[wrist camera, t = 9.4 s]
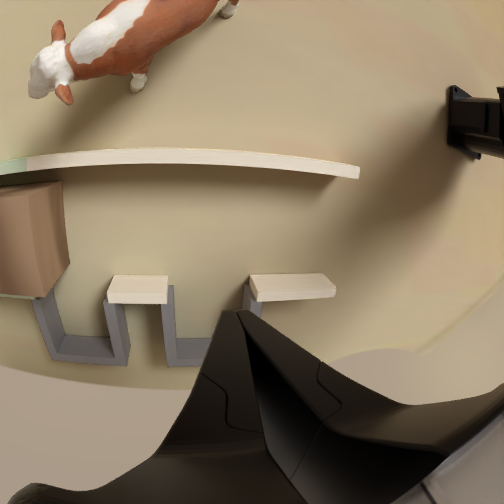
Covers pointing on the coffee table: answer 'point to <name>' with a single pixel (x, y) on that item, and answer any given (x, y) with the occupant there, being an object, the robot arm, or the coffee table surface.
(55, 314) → the trap pen
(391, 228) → the coffee table surface
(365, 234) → the coffee table surface
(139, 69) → the bull figurine
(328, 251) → the coffee table surface
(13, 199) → the walnut block
